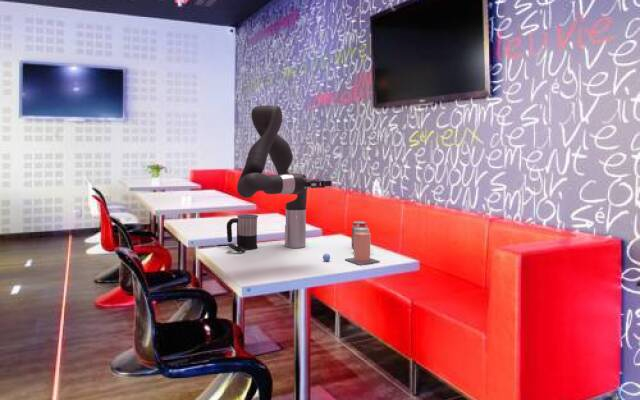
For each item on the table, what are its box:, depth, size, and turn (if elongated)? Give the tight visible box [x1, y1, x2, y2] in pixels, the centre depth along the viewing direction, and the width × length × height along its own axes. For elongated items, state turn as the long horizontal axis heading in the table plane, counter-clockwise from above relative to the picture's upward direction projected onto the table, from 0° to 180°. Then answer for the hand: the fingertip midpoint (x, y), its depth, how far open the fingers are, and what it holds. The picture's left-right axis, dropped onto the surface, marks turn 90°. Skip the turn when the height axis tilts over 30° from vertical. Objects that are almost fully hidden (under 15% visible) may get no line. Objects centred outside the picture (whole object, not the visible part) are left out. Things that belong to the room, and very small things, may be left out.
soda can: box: [351, 220, 368, 249], centre depth 227 cm, size 7×7×12 cm
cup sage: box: [354, 227, 370, 241], centre depth 216 cm, size 6×6×11 cm
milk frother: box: [226, 213, 259, 253], centre depth 220 cm, size 14×16×15 cm
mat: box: [344, 257, 381, 267], centre depth 202 cm, size 10×10×1 cm
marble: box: [322, 253, 331, 262], centre depth 202 cm, size 3×3×3 cm
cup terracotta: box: [353, 231, 372, 262], centre depth 201 cm, size 6×6×11 cm
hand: (324, 182), depth 196 cm, fingers open, 8 cm apart
